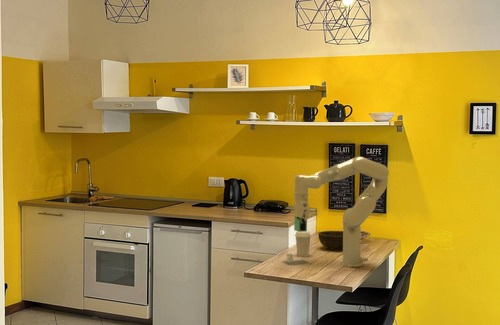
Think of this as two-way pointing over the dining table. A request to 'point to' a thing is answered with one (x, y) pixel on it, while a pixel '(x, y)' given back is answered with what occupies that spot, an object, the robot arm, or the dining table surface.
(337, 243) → the bowl
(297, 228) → the cap
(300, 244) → the coffee cup
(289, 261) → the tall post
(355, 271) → the dining table surface
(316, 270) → the dining table surface
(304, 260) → the stand board
